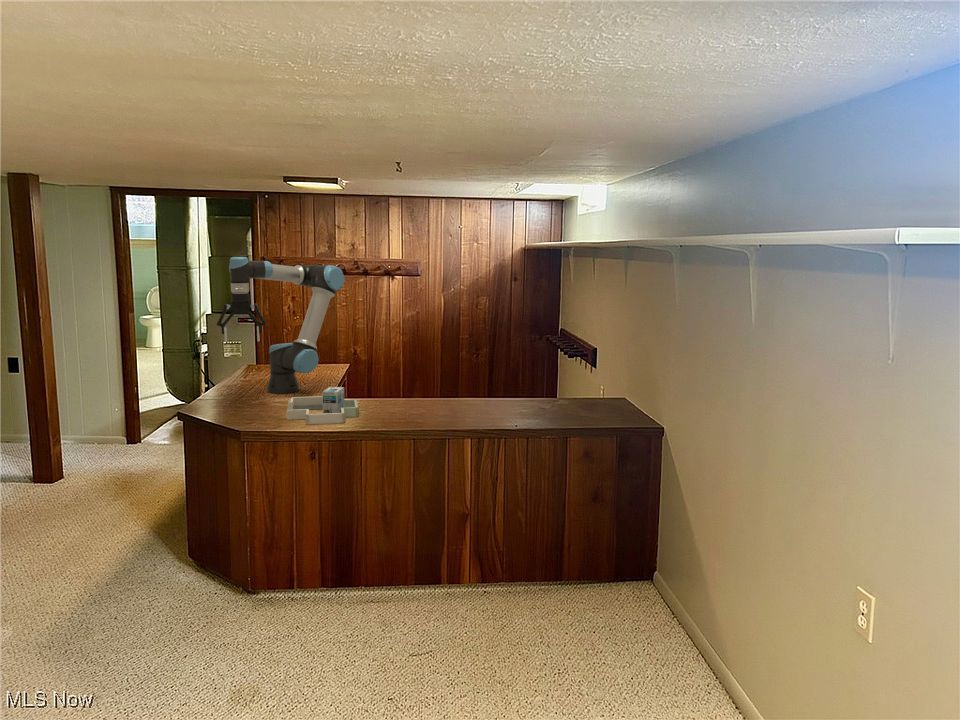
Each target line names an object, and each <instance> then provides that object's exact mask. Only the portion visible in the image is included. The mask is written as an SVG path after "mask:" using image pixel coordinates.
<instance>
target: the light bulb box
mask: <svg viewBox="0 0 960 720" xmlns="http://www.w3.org/2000/svg"><path fill="white" fill-rule="evenodd" d="M322 396H323V409H322V412H323V413H322V414H325V413H341V408H345V400H346V399H345V387H344V386H343V387H341V386H328V388H326V389H324V390H323V391H322Z"/></svg>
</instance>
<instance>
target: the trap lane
mask: <svg viewBox="0 0 960 720" xmlns="http://www.w3.org/2000/svg"><path fill="white" fill-rule="evenodd" d="M344 400H345V408H341V413H325V414H323V413H310V410H309V409H297V410H294V408H295V407H294V406H307V405H323V395H321V396H319V395H318V396H317V395H315V396H294V397H293V396H292V397H290V400H289V401H288V402H287V409H286V413H285V414H286V420H287V421H295V420H296V421H297V420H306V421H305V422H306V425H324V424H326V425H327V424H328V425H329V424H330V425H331V424H345V422H346V421H345V419H346V418H358V417H359V406H358V402H357V398H356V399H354V398H353V399H344ZM293 407H294V408H293Z"/></svg>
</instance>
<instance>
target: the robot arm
mask: <svg viewBox="0 0 960 720" xmlns="http://www.w3.org/2000/svg"><path fill="white" fill-rule="evenodd" d="M228 271H229V278H230V292H231V295H230V299H231V304H227V303H225V304H224V305H223V310H222V312H221V315H220V316H219V319H218V321H217V323H216V325H217V327H220V328H221V334H222V335H223V337H224V343H227V342H228V329H227V327H228V326H226V325H227V324H228V323H229V322H230V320H231V319H232V318H233V316H234V315H235V314H236V315H246V314H247V315H248V316H249V317H250V319H252V321H254V322H255V324H256V332H257V333H256V336H257V337H256V338H257V339H256V340H257V342H260V341H261V340H260V338H261V337H260V336H261V335H260V334H262V333H263V326H266V323H267V322H266V320H265V318H264V317H263V315H262V313H261V312H260V310H259V305H258V303H254V304H251V302H250V298H251V297H250V293H249V292H250V279H259V280H267V281H279V282H289V283H293V284H294V285H295V286H296V285H297V286H304V287H308V288H311V291H312V296H311V299H310V302H309V305H308V307H307V310H306V314H305V317H304V320H303V322H302V325H301V328H300V331H299V335H298V337H297V339H294V340H293V342H287V343H284V342H283V343H277V344H272V345H270V346H269V352H268V354H269V355H268V356H269V373H270V375H269V379H268V383H267V384H266V385H267V386H266V390H267V391H266V392H268V393H272V394H289V393H295V392H298V391H299V390H300V383H299V381H298V379H297V376H296V373H298V374H309V373H312V372H313V371H314V370H315V369H316V368H317V366H318V364H319V355H318V348H317V345H316V344H317V341H318V339H319V338H318V337H319V335H320V332H321V329H322V326H323V323H324V320H325V317H326V314H327V310H328V308H329V304H330V302H331V301H330V300H331V299H332V298H334V297H335V296H336V294H337V291H340V290H341V289H342V288H343V287H344V285H345V275H344V272H343V270H342V269H341V268H340V267H338V266H337V265H331V264H326V265H325V264H307V265H301V264H296V265H295V266H293V265H292V266H291V265H282V264H275V263H271V262H270V261H268V260H249V259H248V257H246V256H232V257H230V259H229V265H228ZM251 308H252V309H253V310H254V311H255V313H256V314H257V316H258V318H257V317H256V316H255V315H254V314H253V313H252V312H251ZM230 309H231V310H232V312H231V313H230V314H229V315H228V317H227V318H225V320H224V317H225V315H226V313H227V311H228V310H230ZM223 320H224V321H223ZM222 321H223V322H222Z"/></svg>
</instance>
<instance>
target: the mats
mask: <svg viewBox="0 0 960 720" xmlns="http://www.w3.org/2000/svg"><path fill="white" fill-rule="evenodd" d="M297 409H309V411H312V410H313V411H318V410H319V411H321V410H323V405H307V406H295V407H294V408H293V410H297Z"/></svg>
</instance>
